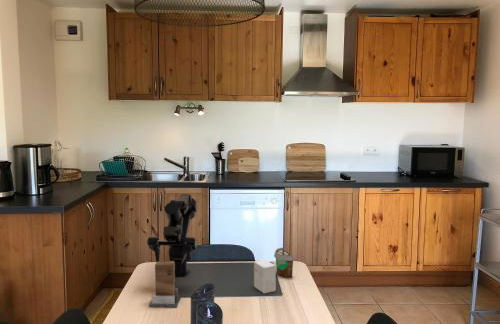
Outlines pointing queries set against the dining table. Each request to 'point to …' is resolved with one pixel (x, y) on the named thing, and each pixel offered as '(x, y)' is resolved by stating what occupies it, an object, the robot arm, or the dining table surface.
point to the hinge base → (165, 300)
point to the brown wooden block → (165, 278)
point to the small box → (265, 276)
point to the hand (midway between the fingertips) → (169, 263)
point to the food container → (283, 263)
